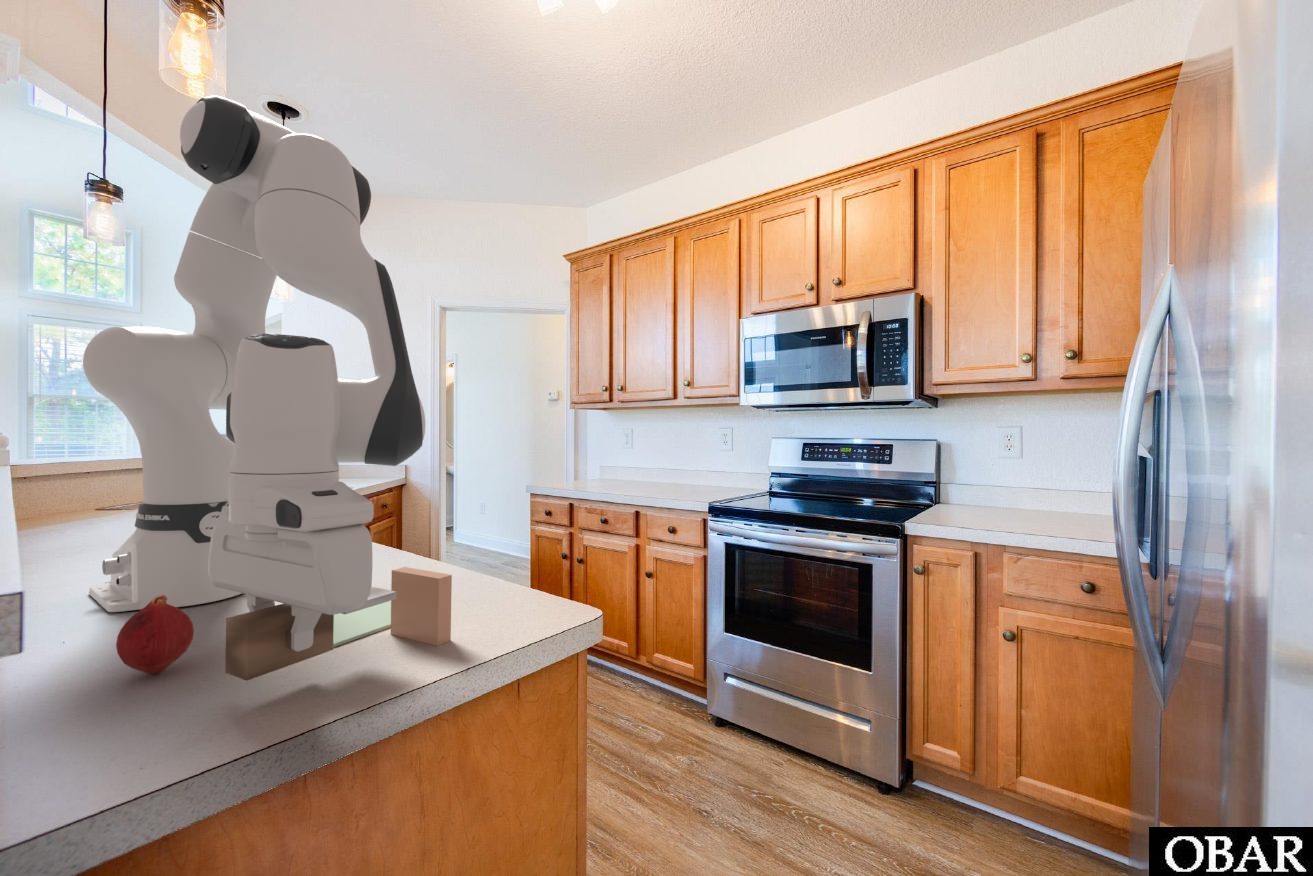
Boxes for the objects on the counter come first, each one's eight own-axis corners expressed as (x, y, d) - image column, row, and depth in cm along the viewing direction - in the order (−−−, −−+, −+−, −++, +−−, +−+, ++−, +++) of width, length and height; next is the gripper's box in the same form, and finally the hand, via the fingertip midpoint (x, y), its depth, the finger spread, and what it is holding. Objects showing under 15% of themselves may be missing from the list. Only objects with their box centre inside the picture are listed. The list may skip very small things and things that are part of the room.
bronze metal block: (214, 668, 52) (215, 615, 52) (353, 623, 64) (354, 580, 64) (259, 684, 49) (259, 627, 49) (395, 634, 61) (396, 589, 61)
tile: (390, 634, 69) (391, 570, 69) (404, 629, 71) (405, 566, 71) (437, 645, 66) (438, 578, 66) (451, 640, 68) (452, 574, 68)
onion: (146, 690, 53) (147, 606, 53) (99, 683, 55) (101, 602, 54) (206, 665, 59) (208, 590, 59) (163, 660, 60) (164, 586, 60)
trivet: (271, 629, 70) (271, 626, 70) (371, 600, 82) (371, 597, 82) (334, 647, 65) (334, 643, 65) (430, 613, 77) (430, 610, 77)
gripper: (189, 496, 55) (187, 635, 55) (320, 513, 46) (318, 678, 47) (257, 491, 61) (255, 616, 61) (386, 505, 52) (383, 652, 52)
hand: (283, 643), depth 54 cm, fingers closed on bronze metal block, 3 cm apart
